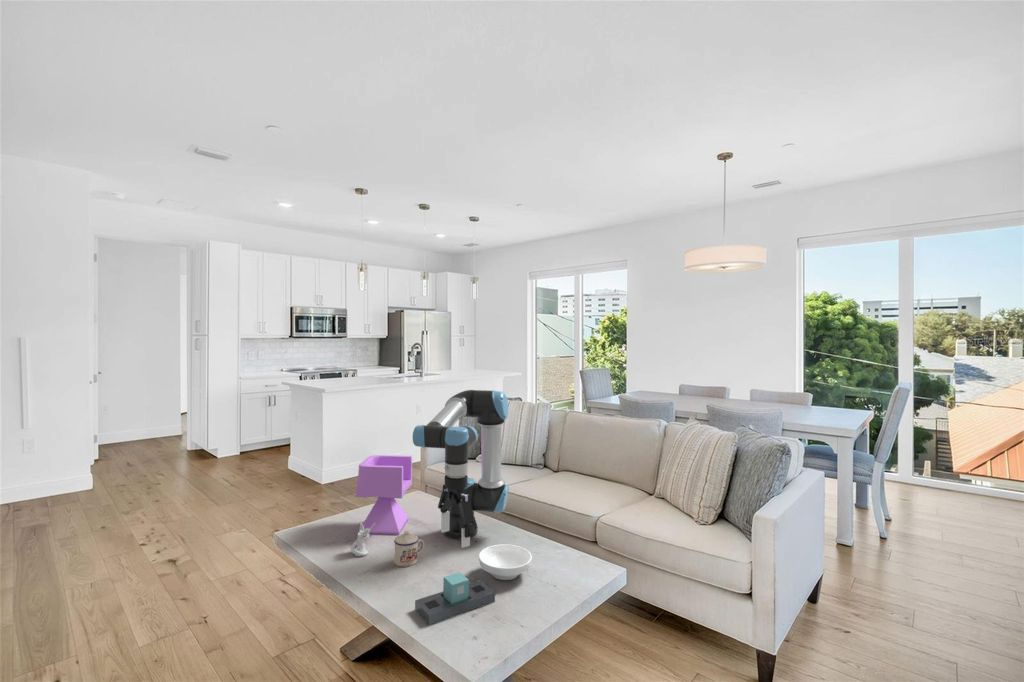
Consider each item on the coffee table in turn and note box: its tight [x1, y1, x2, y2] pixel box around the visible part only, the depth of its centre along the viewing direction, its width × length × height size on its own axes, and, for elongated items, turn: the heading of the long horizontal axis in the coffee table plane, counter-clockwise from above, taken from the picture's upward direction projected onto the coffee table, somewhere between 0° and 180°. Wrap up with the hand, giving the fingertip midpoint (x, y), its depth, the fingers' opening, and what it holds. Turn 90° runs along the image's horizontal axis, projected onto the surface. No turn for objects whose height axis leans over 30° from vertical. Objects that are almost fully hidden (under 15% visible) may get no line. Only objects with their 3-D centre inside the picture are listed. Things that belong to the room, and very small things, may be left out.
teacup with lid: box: [393, 530, 425, 568], centre depth 188 cm, size 12×9×12 cm
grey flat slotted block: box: [414, 579, 496, 626], centre depth 158 cm, size 24×10×3 cm, turn 125°
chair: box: [355, 454, 413, 536], centre depth 221 cm, size 20×20×30 cm
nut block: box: [442, 572, 470, 605], centre depth 158 cm, size 6×6×9 cm
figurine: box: [350, 521, 375, 557], centre depth 195 cm, size 11×8×12 cm
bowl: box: [478, 543, 533, 581], centre depth 179 cm, size 20×20×7 cm
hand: (455, 538), depth 160 cm, fingers open, 13 cm apart
